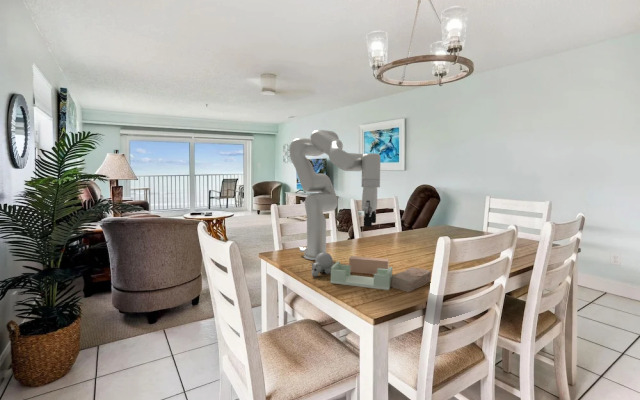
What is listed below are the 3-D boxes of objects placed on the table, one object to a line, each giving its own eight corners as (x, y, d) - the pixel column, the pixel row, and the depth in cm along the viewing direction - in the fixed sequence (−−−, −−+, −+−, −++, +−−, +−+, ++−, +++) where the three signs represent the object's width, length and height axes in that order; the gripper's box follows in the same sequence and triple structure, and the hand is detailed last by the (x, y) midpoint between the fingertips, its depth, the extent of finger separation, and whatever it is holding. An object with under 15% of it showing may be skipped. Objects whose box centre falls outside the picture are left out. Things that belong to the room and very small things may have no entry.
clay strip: (349, 272, 139) (349, 258, 139) (350, 269, 143) (350, 256, 143) (387, 275, 135) (387, 261, 135) (388, 272, 139) (388, 258, 138)
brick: (409, 293, 116) (410, 280, 116) (389, 287, 122) (389, 274, 121) (431, 282, 128) (432, 270, 127) (412, 277, 134) (412, 266, 133)
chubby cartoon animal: (308, 280, 136) (302, 263, 133) (326, 264, 144) (320, 247, 141) (320, 284, 131) (314, 266, 128) (338, 267, 139) (333, 250, 136)
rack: (330, 282, 125) (330, 267, 125) (337, 275, 134) (337, 261, 133) (388, 290, 118) (389, 273, 118) (392, 282, 126) (392, 266, 126)
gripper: (365, 182, 145) (365, 221, 147) (357, 184, 129) (356, 227, 130) (382, 183, 143) (382, 222, 144) (376, 184, 127) (375, 228, 128)
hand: (369, 224), depth 137 cm, fingers open, 9 cm apart
